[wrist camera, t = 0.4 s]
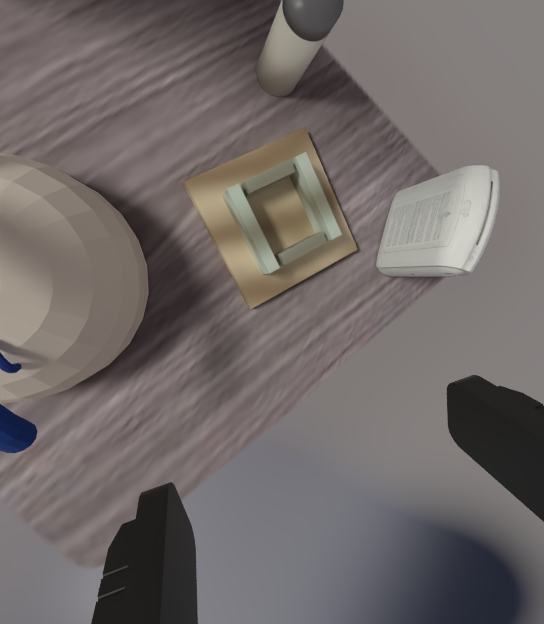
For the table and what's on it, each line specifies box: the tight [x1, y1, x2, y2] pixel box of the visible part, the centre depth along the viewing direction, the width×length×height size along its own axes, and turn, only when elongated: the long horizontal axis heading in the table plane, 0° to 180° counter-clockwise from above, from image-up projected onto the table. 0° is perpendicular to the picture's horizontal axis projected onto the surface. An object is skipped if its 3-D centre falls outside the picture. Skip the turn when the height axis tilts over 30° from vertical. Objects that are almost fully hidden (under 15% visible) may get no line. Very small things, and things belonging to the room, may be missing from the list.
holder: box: [184, 127, 358, 309], centre depth 34 cm, size 14×14×4 cm
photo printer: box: [376, 165, 500, 277], centre depth 34 cm, size 10×4×12 cm, turn 165°
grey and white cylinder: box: [256, 0, 343, 97], centre depth 30 cm, size 4×4×10 cm
